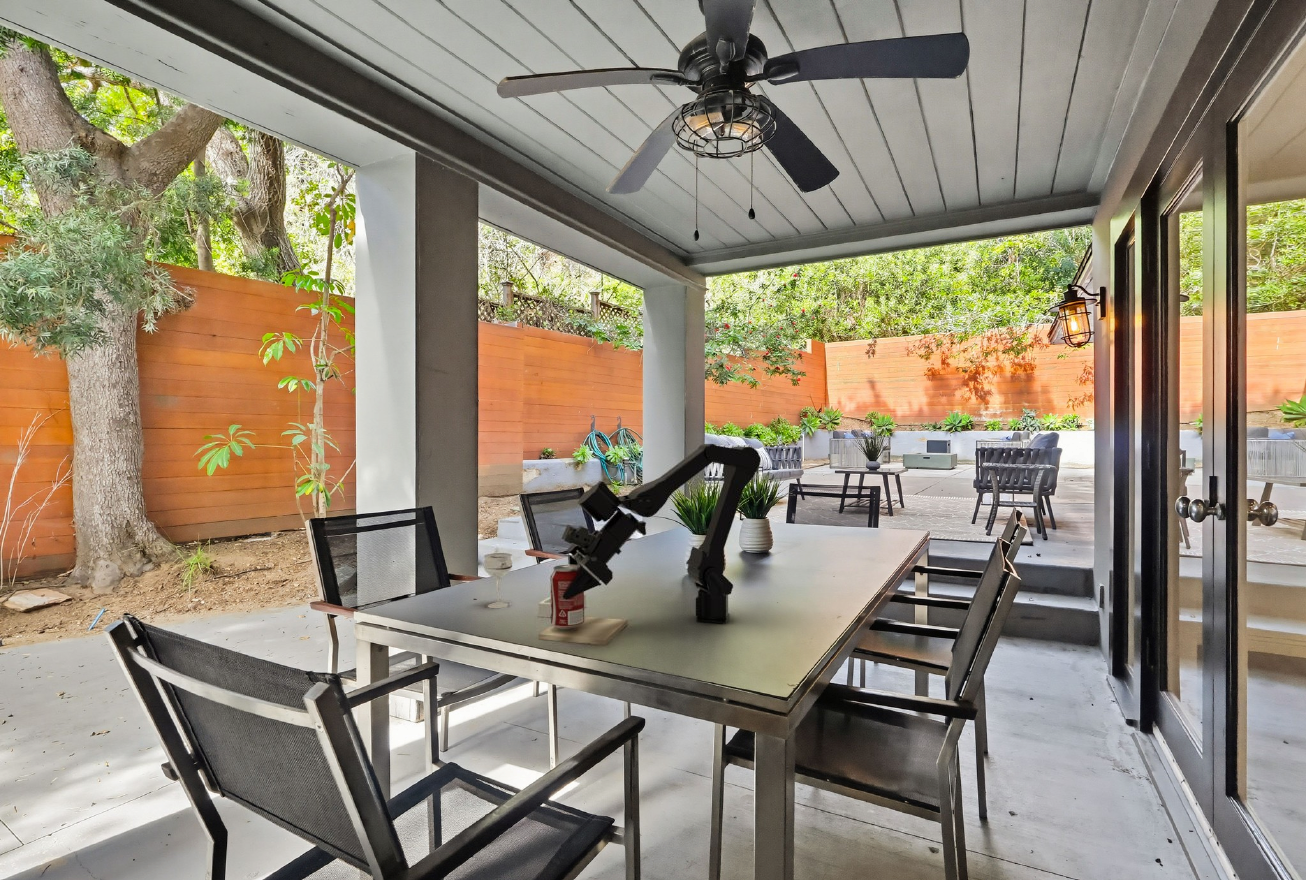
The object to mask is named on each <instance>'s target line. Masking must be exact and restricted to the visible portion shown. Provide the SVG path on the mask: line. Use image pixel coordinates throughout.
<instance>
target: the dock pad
mask: <svg viewBox="0 0 1306 880" xmlns="http://www.w3.org/2000/svg"><path fill="white" fill-rule="evenodd" d="M627 624H628V619H621V618H619V619H617V618H608V617H607V618H604V617H594V616H593V617H591V616H584V623H583V624H582V625H580V626H579V627H577V628H574V629H558V628H556V627H555V626H553V625H552V624H551V625H550V626H549V627H548V628H545V630H543V631H542V632H540V633H539V634H538V639H539V640H545V641H555V642H556V641H557V642H566V643H578V644H588V643H591V644H590V645H599V646H600V645H601V646H606V645H608V643H610V641H611V640H612V639H614V638H615V637H616V636H617V635H618V634H619V633H620V632H622V630H624V629H625V628H626V627H627V626H628V625H629V624H628V625H627ZM626 625H627V626H626ZM625 626H626V627H625ZM624 627H625V628H624ZM616 634H617V635H616ZM614 636H615V637H614Z"/></svg>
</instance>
